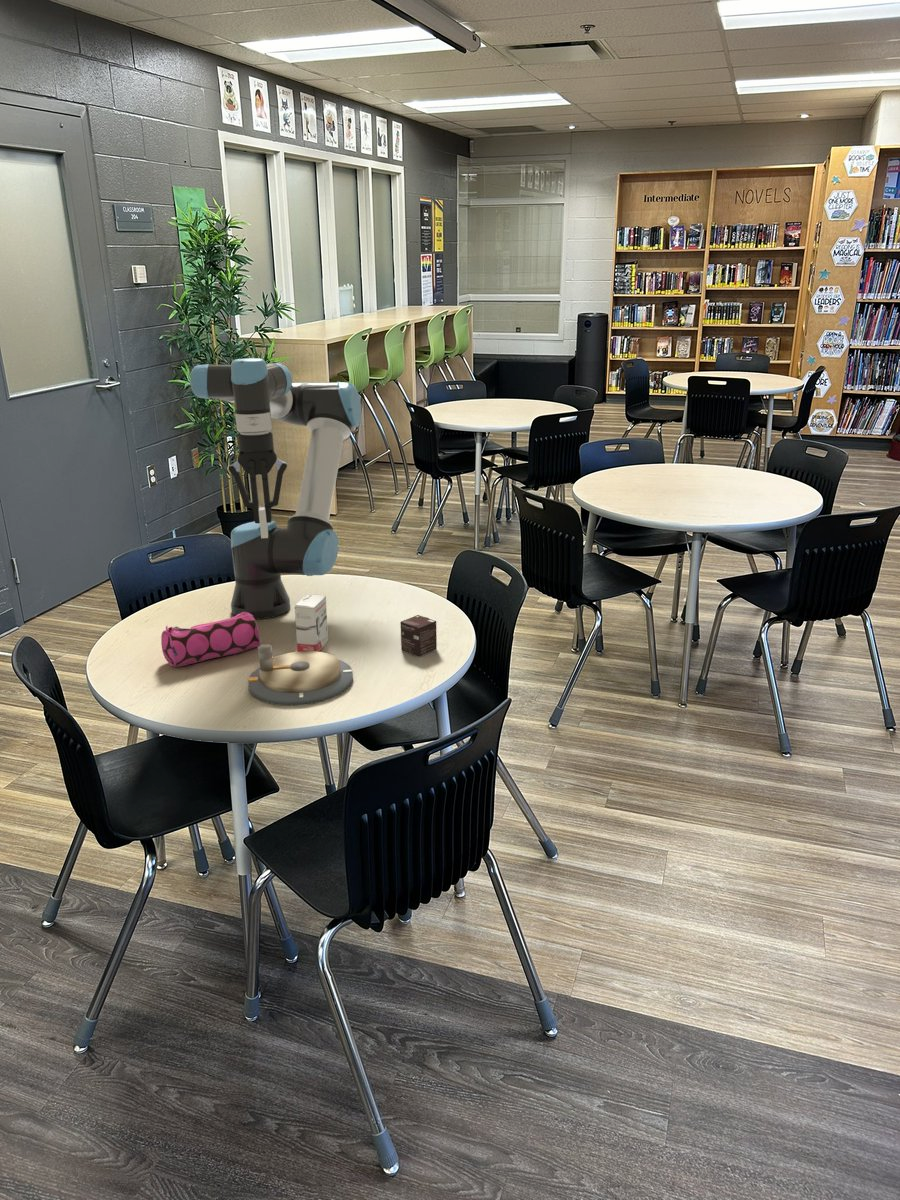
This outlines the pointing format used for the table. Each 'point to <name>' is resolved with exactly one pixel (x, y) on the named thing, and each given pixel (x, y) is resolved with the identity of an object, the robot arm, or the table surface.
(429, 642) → the box
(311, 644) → the ink box
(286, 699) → the dial plate
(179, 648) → the pencil case
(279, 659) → the dial
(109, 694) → the table surface
